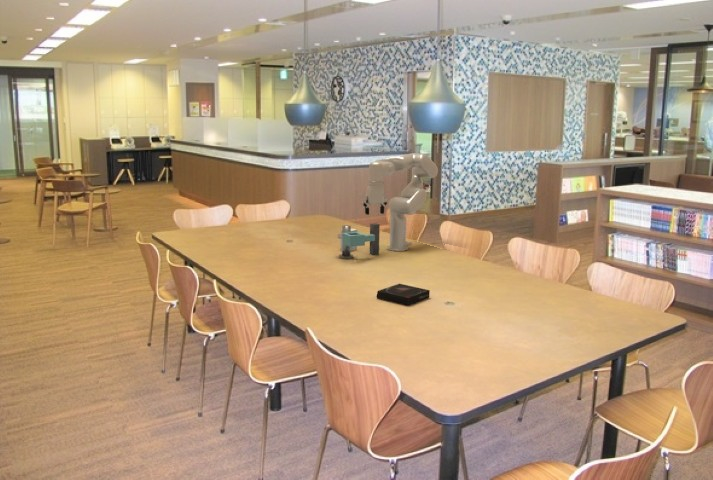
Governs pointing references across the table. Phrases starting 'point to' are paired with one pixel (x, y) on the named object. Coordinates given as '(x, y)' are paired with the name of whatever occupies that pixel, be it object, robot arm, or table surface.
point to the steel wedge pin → (375, 244)
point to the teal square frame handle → (356, 239)
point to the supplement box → (351, 247)
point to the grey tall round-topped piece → (345, 248)
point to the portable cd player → (403, 294)
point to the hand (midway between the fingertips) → (374, 213)
